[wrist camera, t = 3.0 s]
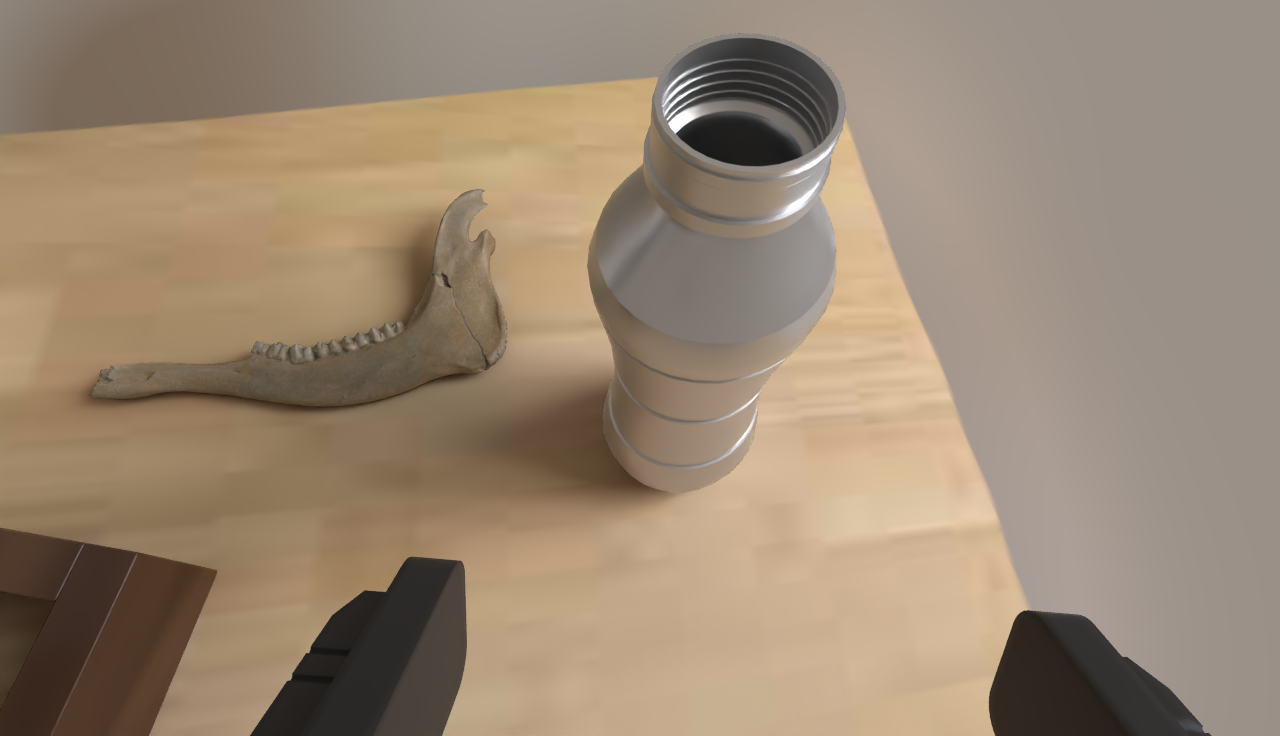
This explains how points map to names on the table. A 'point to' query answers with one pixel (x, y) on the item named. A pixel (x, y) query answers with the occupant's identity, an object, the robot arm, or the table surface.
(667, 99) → the silver metal bottle
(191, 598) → the bottle holder
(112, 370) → the jawbone
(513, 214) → the table surface
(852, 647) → the table surface
